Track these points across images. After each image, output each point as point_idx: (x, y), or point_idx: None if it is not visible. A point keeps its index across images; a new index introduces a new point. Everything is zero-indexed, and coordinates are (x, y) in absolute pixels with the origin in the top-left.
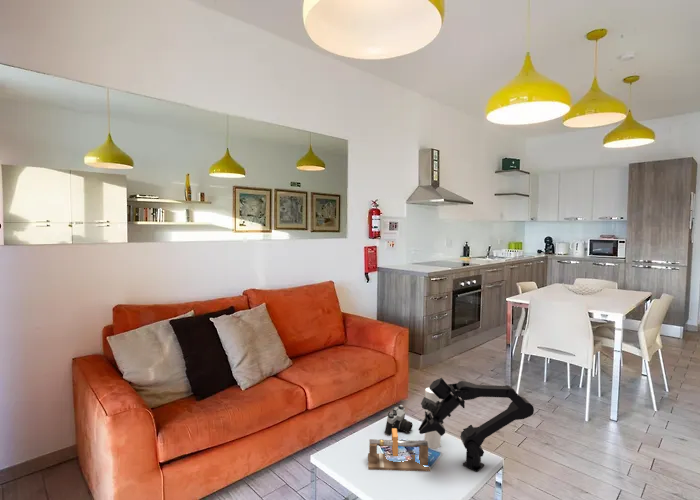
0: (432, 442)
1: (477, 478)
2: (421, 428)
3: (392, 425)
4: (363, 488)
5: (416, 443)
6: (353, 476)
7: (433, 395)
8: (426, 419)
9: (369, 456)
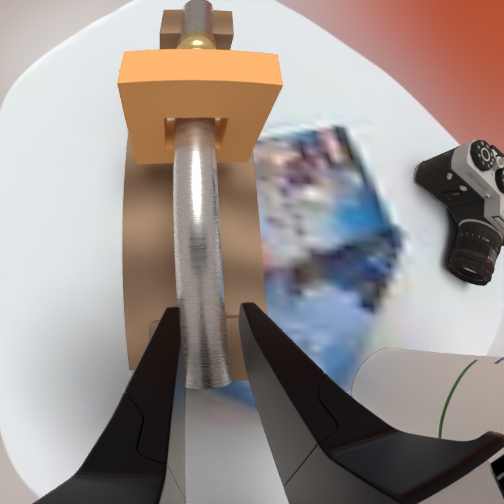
0: (369, 395)
1: None
2: (248, 345)
3: (448, 175)
4: (33, 78)
5: (180, 285)
6: (101, 42)
7: None
8: (322, 464)
9: None
